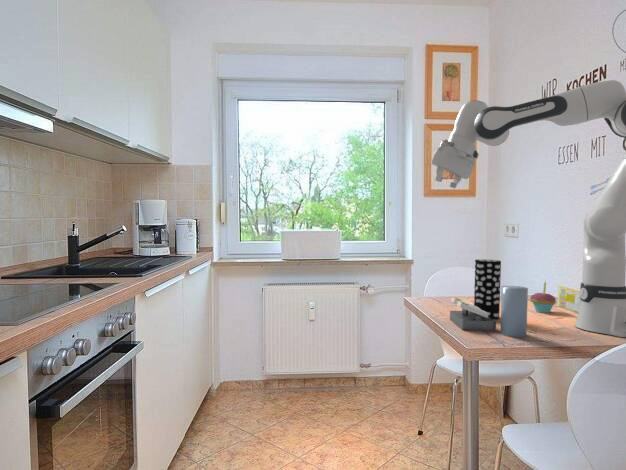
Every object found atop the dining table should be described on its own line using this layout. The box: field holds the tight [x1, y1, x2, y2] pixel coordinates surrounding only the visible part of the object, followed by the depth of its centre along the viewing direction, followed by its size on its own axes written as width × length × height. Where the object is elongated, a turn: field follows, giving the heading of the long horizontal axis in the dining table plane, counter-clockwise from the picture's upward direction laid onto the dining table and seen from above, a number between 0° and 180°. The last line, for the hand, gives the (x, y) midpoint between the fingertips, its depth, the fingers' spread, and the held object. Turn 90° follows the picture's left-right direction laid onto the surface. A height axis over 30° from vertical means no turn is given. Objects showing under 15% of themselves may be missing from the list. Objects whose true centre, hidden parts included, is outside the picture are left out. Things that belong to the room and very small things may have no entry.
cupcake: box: [529, 280, 557, 314], centre depth 155 cm, size 9×8×12 cm
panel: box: [449, 308, 497, 332], centre depth 133 cm, size 10×14×5 cm
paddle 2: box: [456, 299, 489, 318], centre depth 129 cm, size 9×4×2 cm, turn 86°
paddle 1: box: [449, 296, 481, 310], centre depth 136 cm, size 9×4×2 cm, turn 86°
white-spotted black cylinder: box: [473, 258, 502, 321], centre depth 144 cm, size 8×8×20 cm
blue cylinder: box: [500, 285, 529, 338], centre depth 122 cm, size 7×7×14 cm
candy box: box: [556, 286, 581, 314], centre depth 158 cm, size 16×2×8 cm, turn 0°
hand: (445, 184), depth 146 cm, fingers open, 8 cm apart
